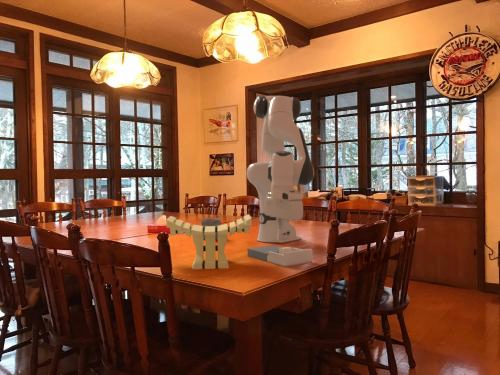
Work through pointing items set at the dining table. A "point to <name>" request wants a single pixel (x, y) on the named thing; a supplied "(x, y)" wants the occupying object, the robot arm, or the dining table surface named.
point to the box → (290, 257)
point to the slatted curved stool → (209, 240)
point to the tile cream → (285, 250)
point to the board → (262, 251)
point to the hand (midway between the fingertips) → (282, 229)
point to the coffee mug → (211, 222)
